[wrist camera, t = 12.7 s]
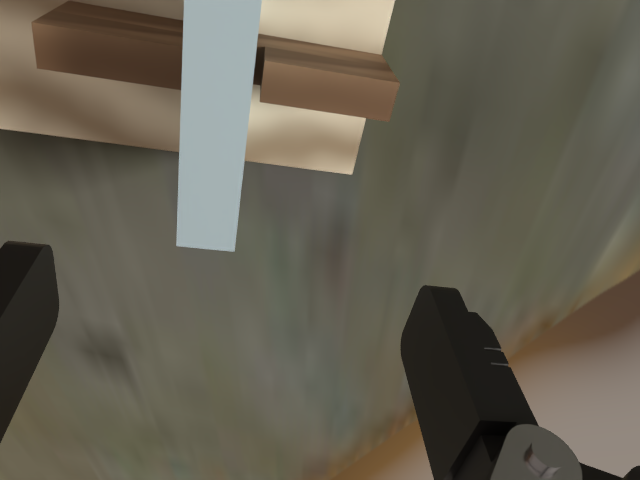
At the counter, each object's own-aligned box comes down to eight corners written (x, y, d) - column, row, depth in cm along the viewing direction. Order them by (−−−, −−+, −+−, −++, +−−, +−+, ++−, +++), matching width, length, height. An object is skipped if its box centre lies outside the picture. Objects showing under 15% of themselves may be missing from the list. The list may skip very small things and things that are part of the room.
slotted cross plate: (216, -80, 30) (185, -60, 19) (267, -69, 30) (266, -44, 19) (203, 142, 37) (176, 245, 27) (244, 148, 38) (234, 251, 27)
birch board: (-185, -188, 26) (-199, -190, 26) (405, -61, 32) (409, -59, 31) (-101, 109, 35) (-109, 114, 34) (350, 168, 41) (352, 174, 40)
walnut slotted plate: (68, 0, 31) (31, 22, 26) (381, 54, 35) (399, 82, 30) (71, 40, 33) (36, 68, 28) (372, 89, 36) (389, 121, 31)
